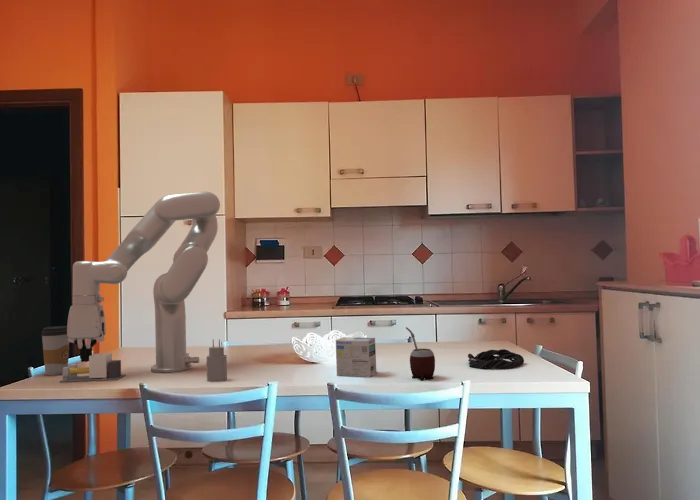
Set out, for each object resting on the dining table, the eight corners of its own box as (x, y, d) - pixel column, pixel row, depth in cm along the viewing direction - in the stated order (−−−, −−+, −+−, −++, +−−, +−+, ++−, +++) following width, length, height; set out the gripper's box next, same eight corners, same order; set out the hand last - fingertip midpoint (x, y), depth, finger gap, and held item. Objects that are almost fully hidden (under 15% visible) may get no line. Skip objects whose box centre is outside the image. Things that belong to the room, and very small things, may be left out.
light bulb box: (377, 373, 161) (376, 336, 162) (370, 377, 155) (369, 340, 155) (343, 371, 165) (342, 336, 165) (335, 376, 159) (334, 339, 159)
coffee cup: (58, 376, 170) (57, 328, 171) (35, 376, 172) (34, 329, 172) (76, 371, 178) (76, 325, 179) (54, 370, 180) (54, 325, 180)
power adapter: (209, 379, 159) (208, 338, 159) (227, 379, 159) (226, 338, 159) (206, 381, 156) (205, 340, 156) (224, 381, 156) (223, 339, 156)
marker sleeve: (112, 374, 167) (111, 353, 167) (106, 377, 163) (105, 355, 163) (95, 374, 167) (95, 353, 167) (89, 378, 163) (88, 356, 163)
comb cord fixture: (125, 375, 169) (125, 359, 169) (116, 380, 162) (116, 363, 162) (70, 377, 168) (70, 360, 168) (59, 382, 161) (59, 365, 161)
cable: (519, 361, 174) (519, 348, 174) (530, 370, 160) (529, 356, 160) (466, 362, 176) (465, 349, 176) (471, 371, 162) (470, 356, 162)
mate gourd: (436, 375, 155) (434, 323, 155) (434, 382, 147) (432, 327, 147) (410, 375, 156) (408, 323, 157) (407, 381, 149) (405, 327, 149)
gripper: (115, 300, 169) (115, 358, 169) (67, 300, 169) (67, 359, 168) (105, 301, 162) (105, 362, 161) (55, 302, 161) (54, 363, 161)
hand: (86, 361), depth 165 cm, fingers closed
